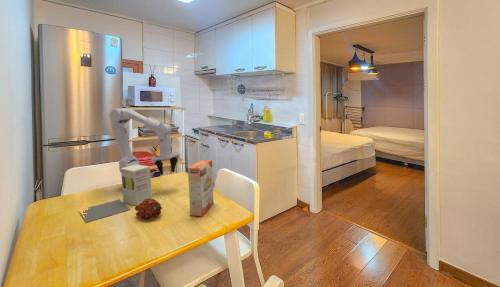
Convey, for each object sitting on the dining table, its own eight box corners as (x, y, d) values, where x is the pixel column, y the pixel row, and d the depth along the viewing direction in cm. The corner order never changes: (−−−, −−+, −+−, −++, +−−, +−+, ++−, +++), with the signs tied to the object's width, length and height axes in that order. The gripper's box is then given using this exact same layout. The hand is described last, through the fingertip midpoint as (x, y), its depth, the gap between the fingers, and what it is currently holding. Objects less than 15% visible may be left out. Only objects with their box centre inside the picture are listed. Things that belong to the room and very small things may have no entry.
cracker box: (203, 217, 104) (200, 168, 101) (189, 216, 106) (186, 167, 102) (214, 203, 118) (212, 159, 114) (202, 202, 119) (200, 159, 115)
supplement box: (122, 202, 121) (119, 168, 118) (138, 195, 129) (136, 163, 126) (136, 206, 117) (134, 170, 114) (152, 199, 125) (150, 166, 122)
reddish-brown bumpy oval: (162, 223, 104) (138, 224, 107) (169, 204, 109) (145, 206, 113) (151, 212, 98) (125, 214, 101) (159, 193, 104) (134, 195, 107)
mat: (78, 210, 113) (78, 210, 113) (119, 200, 124) (119, 199, 124) (86, 223, 101) (85, 222, 101) (130, 209, 113) (130, 209, 113)
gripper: (154, 150, 121) (156, 177, 124) (182, 146, 131) (183, 171, 134) (148, 148, 126) (151, 175, 129) (175, 144, 136) (177, 169, 139)
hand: (167, 173), depth 132 cm, fingers open, 6 cm apart
